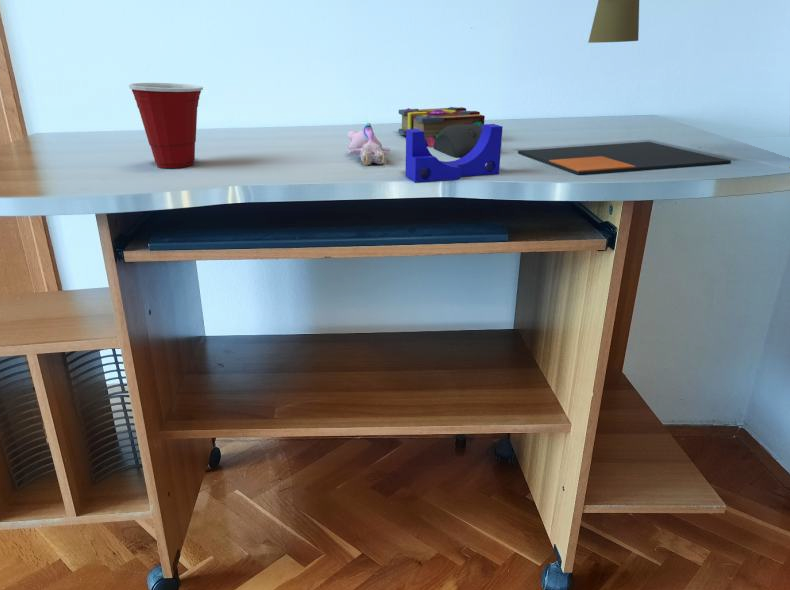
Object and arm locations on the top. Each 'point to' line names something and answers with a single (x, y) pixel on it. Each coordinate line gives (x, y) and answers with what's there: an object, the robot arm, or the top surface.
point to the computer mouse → (458, 139)
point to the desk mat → (620, 157)
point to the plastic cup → (169, 120)
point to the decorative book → (437, 120)
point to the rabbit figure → (367, 146)
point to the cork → (615, 21)
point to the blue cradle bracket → (431, 169)
